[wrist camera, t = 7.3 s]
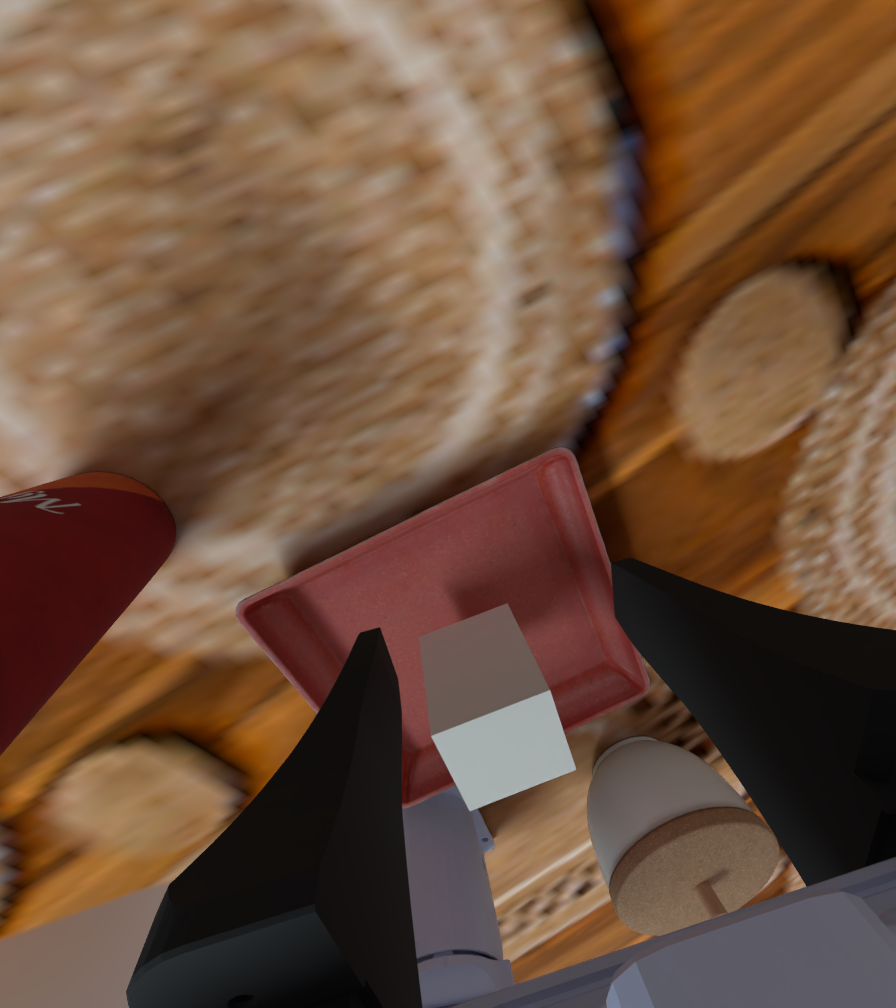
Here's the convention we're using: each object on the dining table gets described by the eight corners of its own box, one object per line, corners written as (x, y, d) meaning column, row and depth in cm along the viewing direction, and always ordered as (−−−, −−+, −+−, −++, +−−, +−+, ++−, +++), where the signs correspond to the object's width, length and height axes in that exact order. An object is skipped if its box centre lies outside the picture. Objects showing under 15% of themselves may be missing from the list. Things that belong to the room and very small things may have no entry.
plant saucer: (628, 658, 29) (657, 695, 26) (398, 767, 29) (400, 817, 26) (544, 427, 22) (571, 439, 19) (246, 573, 22) (225, 608, 19)
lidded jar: (701, 700, 31) (827, 838, 22) (683, 797, 35) (784, 946, 26) (565, 727, 30) (641, 883, 21) (561, 824, 33) (625, 990, 25)
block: (530, 671, 24) (576, 769, 18) (449, 702, 24) (469, 811, 18) (507, 602, 22) (549, 689, 16) (418, 637, 22) (430, 736, 16)
